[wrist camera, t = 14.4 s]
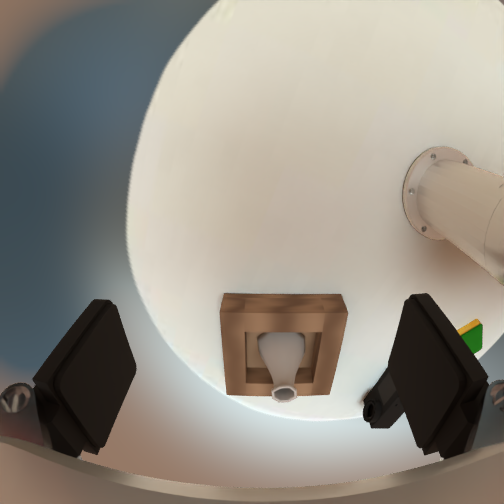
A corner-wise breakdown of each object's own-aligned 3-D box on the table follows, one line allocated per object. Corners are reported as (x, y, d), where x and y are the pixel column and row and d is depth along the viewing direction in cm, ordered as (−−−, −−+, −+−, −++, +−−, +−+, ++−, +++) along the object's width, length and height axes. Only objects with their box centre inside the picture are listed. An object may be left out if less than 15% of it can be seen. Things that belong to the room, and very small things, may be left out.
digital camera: (384, 362, 46) (396, 391, 39) (408, 364, 46) (421, 392, 40) (357, 400, 50) (365, 428, 44) (380, 401, 50) (389, 428, 44)
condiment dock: (340, 294, 41) (348, 312, 36) (325, 374, 47) (329, 394, 43) (224, 293, 41) (219, 312, 37) (229, 374, 48) (226, 394, 43)
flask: (248, 333, 43) (244, 385, 33) (295, 316, 41) (302, 368, 32) (268, 366, 45) (268, 416, 36) (312, 351, 44) (321, 402, 34)
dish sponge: (413, 352, 45) (418, 361, 43) (476, 316, 42) (482, 324, 40) (418, 374, 48) (422, 383, 46) (476, 341, 45) (482, 349, 43)
